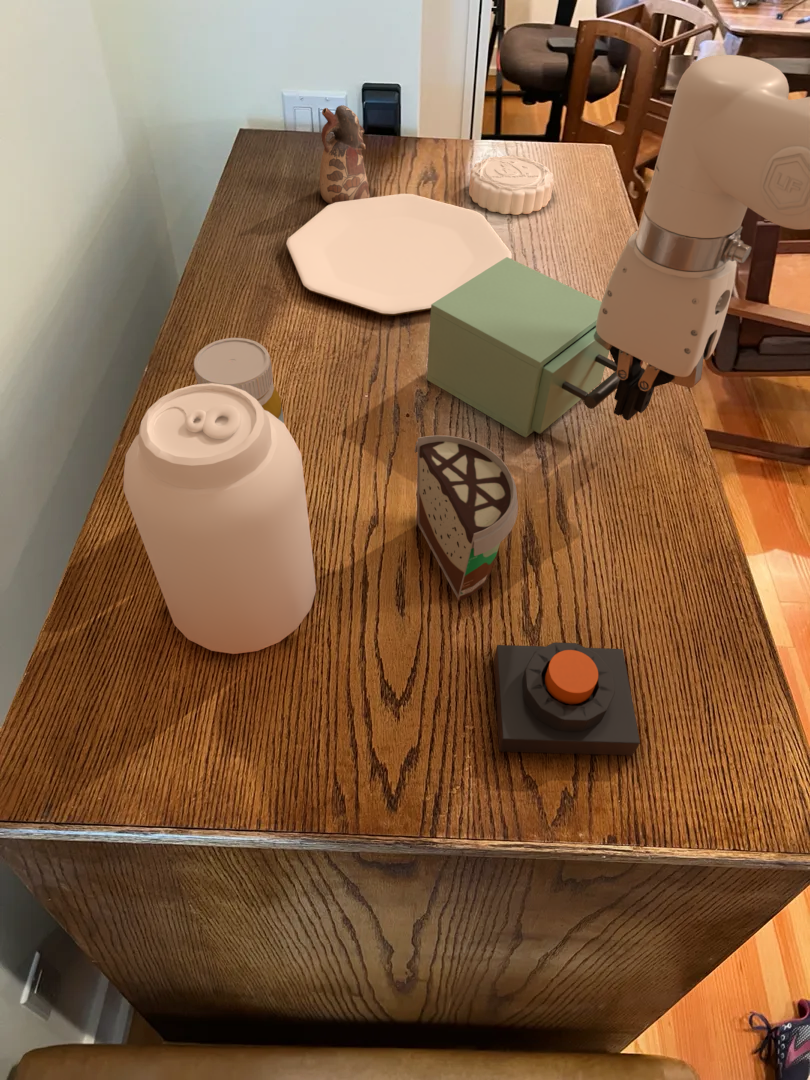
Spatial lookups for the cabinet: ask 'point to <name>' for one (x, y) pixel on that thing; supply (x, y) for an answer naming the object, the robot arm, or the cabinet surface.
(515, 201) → the mooncake
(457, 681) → the cabinet surface
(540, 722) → the block
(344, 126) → the figurine
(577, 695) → the button
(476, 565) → the food container
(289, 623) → the can
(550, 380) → the green cabinet drawer
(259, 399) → the bottle
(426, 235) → the plate
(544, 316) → the green drawer box
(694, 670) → the cabinet surface
